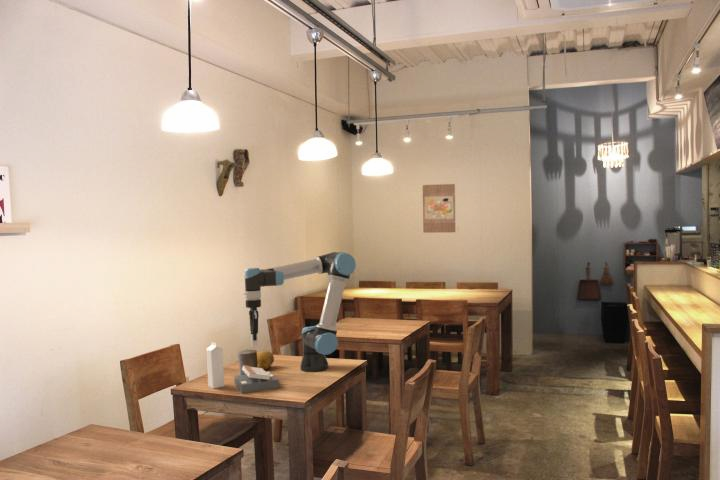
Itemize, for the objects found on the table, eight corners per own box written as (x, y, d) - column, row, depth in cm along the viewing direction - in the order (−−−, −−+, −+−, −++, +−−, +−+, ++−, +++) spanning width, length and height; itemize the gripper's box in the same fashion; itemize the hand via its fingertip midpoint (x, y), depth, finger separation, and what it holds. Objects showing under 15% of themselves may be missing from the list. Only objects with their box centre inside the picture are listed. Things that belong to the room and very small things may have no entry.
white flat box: (266, 377, 293) (267, 372, 294) (269, 379, 289) (270, 374, 289) (246, 375, 290) (247, 370, 290) (249, 377, 285) (249, 372, 285)
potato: (253, 371, 325) (252, 353, 325) (257, 366, 338) (256, 348, 337) (272, 370, 325) (271, 352, 325) (275, 365, 338) (274, 347, 337)
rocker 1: (261, 372, 305) (262, 367, 305) (263, 374, 300) (264, 369, 301) (242, 369, 301) (243, 365, 301) (243, 371, 297) (244, 367, 297)
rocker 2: (264, 374, 299) (264, 370, 299) (266, 376, 295) (267, 372, 295) (244, 372, 296) (245, 367, 296) (246, 374, 291) (247, 369, 291)
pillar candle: (261, 375, 315) (260, 347, 315) (251, 380, 306) (249, 351, 306) (246, 374, 319) (245, 346, 319) (235, 379, 311) (233, 350, 310)
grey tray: (269, 379, 307) (269, 369, 307) (279, 387, 290) (278, 377, 290) (234, 384, 301) (234, 374, 301) (241, 393, 283) (241, 382, 283)
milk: (213, 388, 294) (210, 344, 293) (208, 386, 299) (205, 342, 298) (224, 386, 297) (222, 342, 297) (219, 384, 302) (217, 340, 301)
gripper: (243, 298, 302) (244, 345, 302) (247, 301, 289) (249, 349, 290) (258, 297, 304) (259, 343, 305) (263, 300, 292) (264, 348, 292)
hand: (254, 346), depth 297 cm, fingers closed
